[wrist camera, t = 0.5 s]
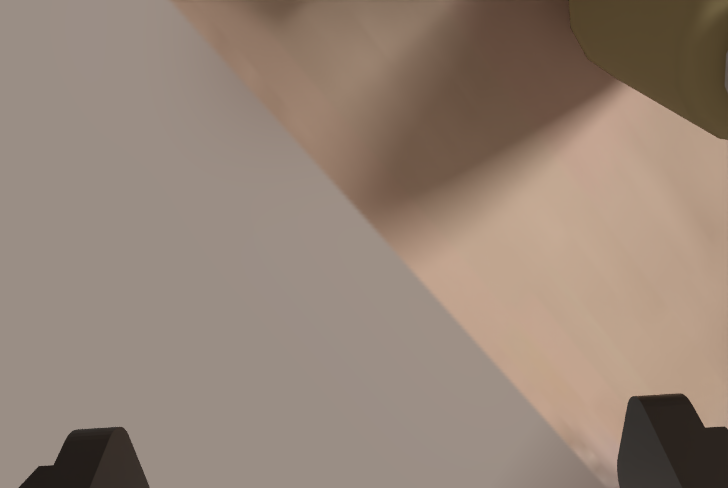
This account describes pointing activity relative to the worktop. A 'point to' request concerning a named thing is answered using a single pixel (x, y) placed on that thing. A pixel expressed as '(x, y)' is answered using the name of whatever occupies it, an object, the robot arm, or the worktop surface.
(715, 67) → the squeeze bottle
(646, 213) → the worktop surface
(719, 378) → the worktop surface
